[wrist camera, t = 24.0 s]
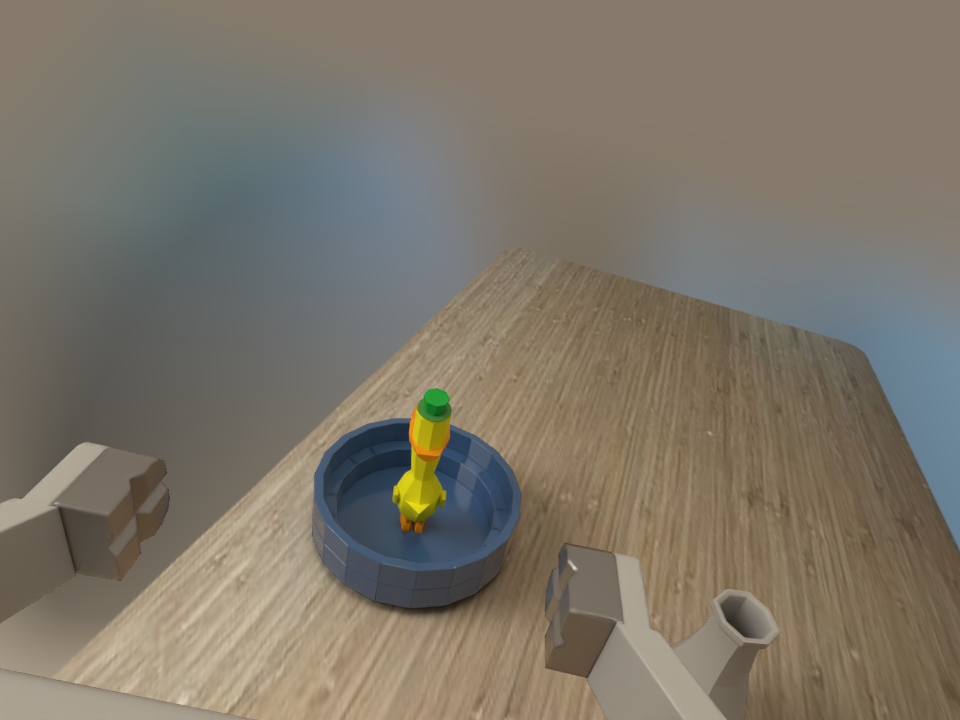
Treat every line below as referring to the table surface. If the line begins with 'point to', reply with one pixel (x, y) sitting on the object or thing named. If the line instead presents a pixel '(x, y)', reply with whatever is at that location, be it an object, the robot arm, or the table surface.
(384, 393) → the table surface
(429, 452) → the toy figure
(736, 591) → the flask
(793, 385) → the table surface
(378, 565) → the bowl
